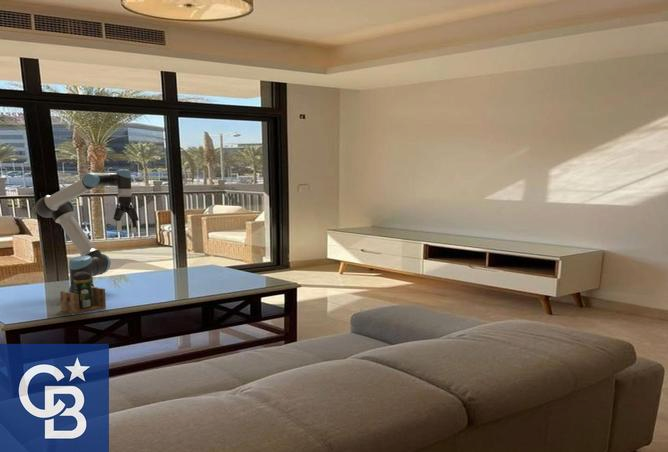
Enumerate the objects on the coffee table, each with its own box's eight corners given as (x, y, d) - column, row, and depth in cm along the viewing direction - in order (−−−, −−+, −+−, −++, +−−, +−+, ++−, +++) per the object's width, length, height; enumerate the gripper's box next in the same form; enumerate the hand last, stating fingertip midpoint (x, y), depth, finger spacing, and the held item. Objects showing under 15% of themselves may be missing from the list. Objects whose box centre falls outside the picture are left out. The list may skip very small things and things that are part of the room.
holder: (59, 311, 263) (58, 291, 262) (91, 303, 278) (90, 285, 277) (75, 314, 255) (74, 294, 254) (107, 307, 270) (106, 288, 269)
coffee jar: (73, 306, 268) (72, 271, 266) (90, 303, 273) (88, 269, 271) (76, 309, 260) (74, 274, 258) (93, 307, 265) (91, 272, 263)
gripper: (106, 196, 300) (107, 231, 302) (132, 196, 286) (134, 234, 288) (117, 195, 306) (119, 230, 308) (144, 196, 293) (145, 232, 295)
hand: (126, 232), depth 298 cm, fingers open, 13 cm apart
